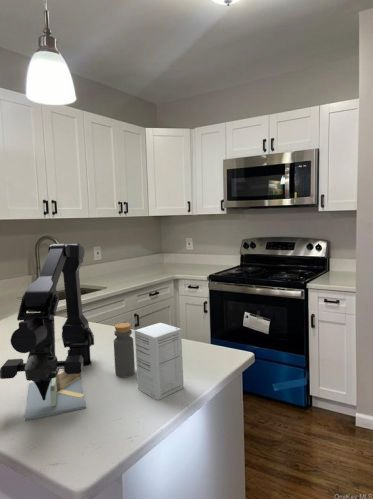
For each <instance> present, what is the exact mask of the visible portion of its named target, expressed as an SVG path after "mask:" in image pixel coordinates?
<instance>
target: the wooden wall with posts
mask: <svg viewBox="0 0 373 499" xmlns="http://www.w3.org/2000/svg"><path fill="white" fill-rule="evenodd" d="M80 376H81V377H80ZM78 377H80V379H81V380H82V372H81V373H79V374H67V373H65V372H64V369H61V371H59V372H58V374H57V376H56V384H57V391H59V388H61V387H63V386H65V385H66V384H68V383H70V382H71V381H73V380H74V379H76V378H78ZM51 382H52V379H51Z"/></svg>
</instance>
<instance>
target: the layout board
mask: <svg viewBox="0 0 373 499" xmlns="http://www.w3.org/2000/svg"><path fill="white" fill-rule="evenodd" d="M80 377H81V379H80ZM80 377H78V378H76V379H74V380H73V381H71V382H70V383H68V384H66V385H65V386H63V387H61V388H59V391H57V396H56V406H52V407H51V394H50V389H51V381H50V385H49V388H48V391H47V394H46V399H45V400H43V399H42V396H41V394H40V392H39V390H38V388H37V386H36V384H35V383H34V382H33V381H32V382H29V383H28V389H27V397H26V405H25V413H24V422H27V421H30V420H32V421H33V420H37V419H41V418H46V417H49V416H54V415H55V416H56V415H60V414H65V413H70V412H74V411H79V410H84V409H87V405H86V400H85V399H86V398H85V396H86V394H85V393H84V390H83V385H82V384H83V383H82V375H81V376H80Z"/></svg>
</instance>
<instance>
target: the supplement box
mask: <svg viewBox="0 0 373 499" xmlns="http://www.w3.org/2000/svg"><path fill="white" fill-rule="evenodd" d="M182 339H183V338H182V329H181V328H179V327H176V326H173V325H170V324H167V323H164V322H158V323H155V324H151V325H147V326H144V327H141V328H138V329H134V344H135V345H134V347H135V360H136V362H135V364H136V378H137V379H136V380H137V390H139V391H141V392H143V393H144V394H146V395H148V396H150V398H151V397H152V399H155V400H157V401H159V400H161V399H163V398H165V397H168V396H169V395H172V394H174V393H176V392H177V391H180V390H182V389H184V388H185V387H184V384H185V383H184V365H183V362H184V361H183V344H182V342H183V341H182Z"/></svg>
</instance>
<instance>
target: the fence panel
mask: <svg viewBox="0 0 373 499" xmlns="http://www.w3.org/2000/svg"><path fill="white" fill-rule="evenodd" d="M50 394H51V407H52V406H56V396H57V384H56V377H55V378H52V382H51V389H50Z"/></svg>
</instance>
